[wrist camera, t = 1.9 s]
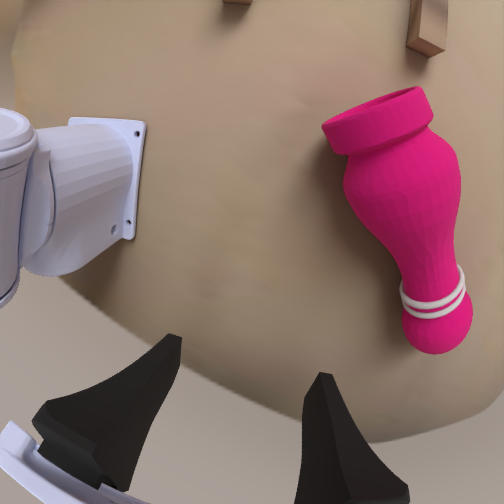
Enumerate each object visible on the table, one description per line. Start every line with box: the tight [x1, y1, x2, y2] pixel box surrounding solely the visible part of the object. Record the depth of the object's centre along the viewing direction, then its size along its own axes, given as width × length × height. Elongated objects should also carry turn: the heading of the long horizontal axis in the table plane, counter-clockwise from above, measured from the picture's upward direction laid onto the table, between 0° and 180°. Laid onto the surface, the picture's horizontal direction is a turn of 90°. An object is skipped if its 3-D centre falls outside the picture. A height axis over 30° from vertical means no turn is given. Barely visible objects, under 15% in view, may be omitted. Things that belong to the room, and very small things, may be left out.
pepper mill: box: [322, 86, 473, 355], centre depth 16 cm, size 7×7×20 cm
